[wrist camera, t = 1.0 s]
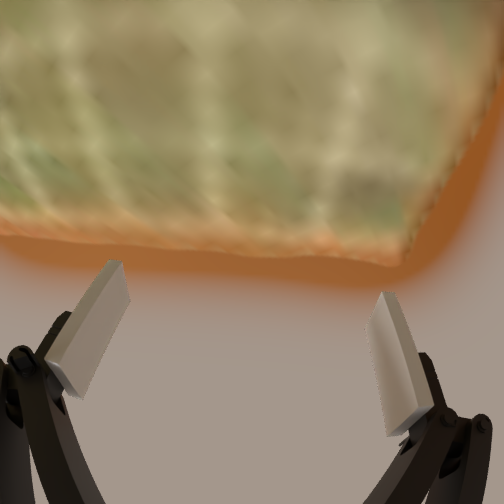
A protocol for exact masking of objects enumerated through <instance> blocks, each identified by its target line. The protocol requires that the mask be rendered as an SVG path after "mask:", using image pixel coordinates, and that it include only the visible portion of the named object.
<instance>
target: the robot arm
mask: <svg viewBox="0 0 504 504" xmlns="http://www.w3.org/2000/svg"><path fill="white" fill-rule="evenodd" d="M129 303H130V298H129V293H128V289H127V284H126V279H125V274H124V269H123V264H122V261H117V260H110V259H109V260H108V262H107V263H106V265H105V266H104V267H103V269H102V270H101V271H100V273H99V274H98V276H97V277H96V278H95V280H94V281H93V283H92V284H91V286H90V287H89V289H88V290H87V291H86V293H85V294H84V296H83V297H82V299H81V300H80V302H79V303H78V305H77V306H76V308H75V309H74V311H73V312H68V311H65V312H64V313H62V314H61V315H60V316H59V317H57V319H56V321H55V322H54V323H53V325H52V327H51V328H50V330H49V331H48V334H47V335H46V336H45V337H44V339H43V341H42V342H41V344H40V346H39V347H38V349H37V351H36V352H35V354H34V353H33V352H32V350H31V349H30V348H29V347H27V346H24V345H21V346H17V347H15V348H14V349H13V350H12V351H11V352H10V353H9V355H8V358H7V362H8V364H5V363H4V362H3V361H2V359H0V504H35V498H34V492H33V484H32V476H31V465H30V453H29V445H30V449H31V452H32V456H33V459H34V463H35V466H36V469H37V472H38V475H39V478H40V481H41V484H42V487H43V489H44V492H45V494H46V497H47V500H48V502H49V504H105V502H104V500H103V498H102V496H101V494H100V492H99V490H98V488H97V486H96V484H95V481H94V479H93V477H92V475H91V473H90V470H89V468H88V466H87V464H86V461H85V459H84V456H83V454H82V452H81V449H80V446H79V444H78V441H77V438H76V435H75V433H74V430H73V427H72V424H71V421H70V418H69V415H68V411H67V409H66V405H65V402H64V398H63V396H62V392H63V390H64V389H65V391H66V392H67V393H68V395H70V396H72V397H75V398H77V399H80V400H83V398H84V396H85V394H86V391H87V389H88V387H89V385H90V382H91V380H92V378H93V376H94V374H95V371H96V369H97V367H98V365H99V363H100V360H101V358H102V356H103V354H104V352H105V350H106V348H107V346H108V344H109V342H110V340H111V338H112V336H113V334H114V332H115V330H116V328H117V326H118V324H119V322H120V320H121V318H122V316H123V314H124V312H125V310H126V309H127V307H128V305H129ZM365 332H366V336H367V340H368V345H369V349H370V353H371V357H372V362H373V366H374V371H375V375H376V380H377V384H378V390H379V395H380V400H381V405H382V410H383V416H384V422H385V428H386V433H387V437H389V436H398V435H402V434H403V433H405V432H406V431H407V430H409V436H408V437H407V438H406V439H404V440H403V441H402V442H401V443H400V444H399V446H401V445H402V447H401V449H400V450H399V452H398V454H397V456H396V457H395V458H394V460H393V462H392V463H391V465H390V467H389V468H388V469H387V471H386V472H385V474H384V475H383V477H382V478H381V480H380V481H379V483H378V484H377V485H376V487H375V488H374V489H373V491H372V492H371V494H370V495H369V496H368V498H367V499H366V500H365V501H364V503H363V504H421V503H422V501H423V500H424V498H425V496H426V494H427V493H428V491H429V493H428V496H427V499H426V502H425V504H482V501H483V496H484V491H485V486H486V480H487V475H488V467H489V461H490V452H491V442H492V429H493V428H492V423H491V420H490V419H489V418H488V416H486V415H484V414H478V415H476V416H475V417H474V418H472V419H468V418H462V417H458V416H457V414H456V412H455V411H454V410H453V409H451V408H448V407H447V405H446V402H445V399H444V396H443V393H442V389H441V386H440V383H439V380H438V379H437V374H436V372H435V369H434V366H433V363H432V360H431V359H430V358H429V357H428V355H427V354H426V353H425V352H424V353H418V352H417V349H416V346H415V343H414V341H413V338H412V335H411V333H410V330H409V327H408V325H407V322H406V319H405V317H404V314H403V312H402V309H401V307H400V304H399V302H398V300H397V297H396V295H395V293H394V292H383V291H382V292H381V294H380V297H379V299H378V301H377V304H376V306H375V308H374V310H373V312H372V314H371V316H370V319H369V321H368V323H367V325H366V327H365ZM429 489H430V490H429Z"/></svg>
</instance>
